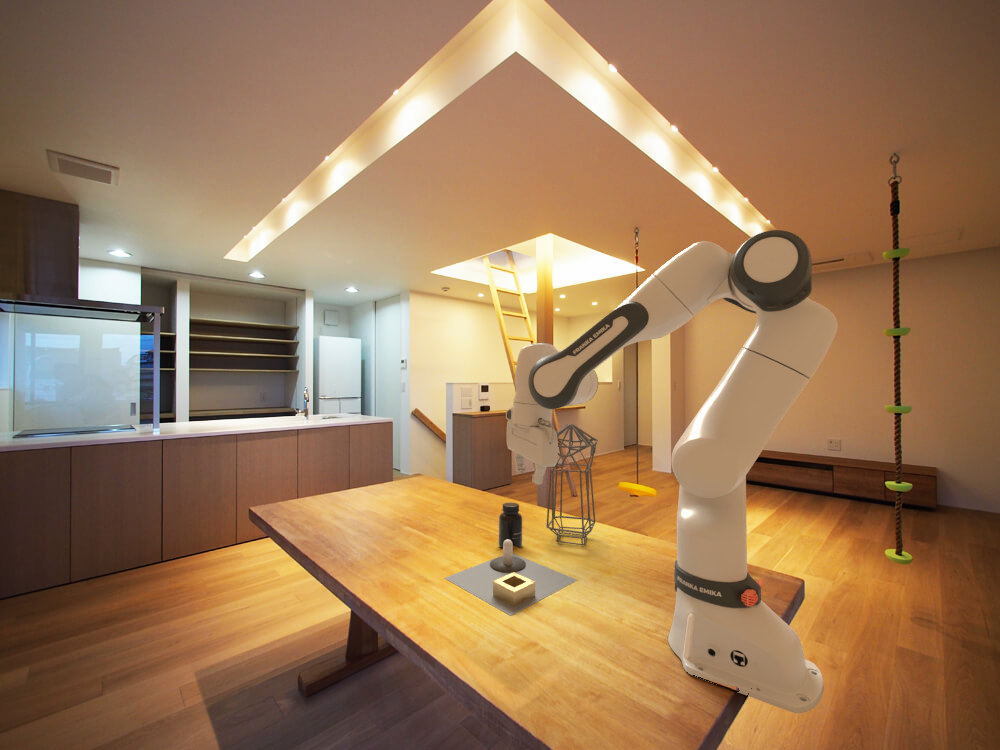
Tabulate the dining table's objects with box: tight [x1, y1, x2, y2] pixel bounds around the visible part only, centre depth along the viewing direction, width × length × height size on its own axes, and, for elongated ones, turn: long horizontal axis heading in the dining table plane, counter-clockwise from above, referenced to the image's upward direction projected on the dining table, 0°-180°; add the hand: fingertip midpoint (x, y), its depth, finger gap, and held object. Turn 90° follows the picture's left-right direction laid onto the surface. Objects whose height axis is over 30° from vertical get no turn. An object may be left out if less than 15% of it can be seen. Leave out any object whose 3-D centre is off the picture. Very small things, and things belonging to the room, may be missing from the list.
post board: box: [444, 539, 578, 617], centre depth 96 cm, size 22×22×8 cm
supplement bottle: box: [498, 502, 523, 549], centre depth 120 cm, size 7×7×12 cm
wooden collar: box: [493, 572, 535, 607], centre depth 88 cm, size 6×6×3 cm
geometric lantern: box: [546, 423, 599, 546], centre depth 126 cm, size 16×16×35 cm
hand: (528, 477), depth 92 cm, fingers open, 8 cm apart
